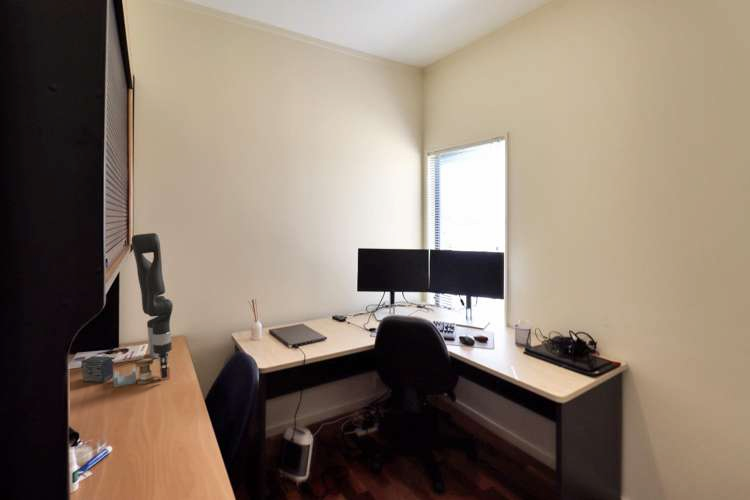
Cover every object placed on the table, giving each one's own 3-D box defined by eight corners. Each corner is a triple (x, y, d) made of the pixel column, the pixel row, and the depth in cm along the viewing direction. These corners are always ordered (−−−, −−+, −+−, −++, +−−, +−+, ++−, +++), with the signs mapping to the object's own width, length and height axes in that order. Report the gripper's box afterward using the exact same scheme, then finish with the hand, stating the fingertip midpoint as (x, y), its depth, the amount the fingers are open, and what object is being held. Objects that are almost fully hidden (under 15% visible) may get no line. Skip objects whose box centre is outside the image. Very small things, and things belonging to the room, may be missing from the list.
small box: (114, 376, 173) (112, 356, 172) (103, 383, 167) (101, 362, 165) (94, 375, 174) (92, 355, 173) (82, 382, 168) (80, 361, 166)
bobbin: (137, 379, 171) (135, 360, 169) (154, 375, 174) (153, 357, 173) (136, 385, 165) (135, 366, 163) (154, 381, 168) (153, 362, 167)
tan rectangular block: (160, 378, 172) (159, 366, 171) (170, 376, 174) (169, 364, 173) (160, 380, 170) (159, 368, 169) (170, 378, 172) (169, 366, 171)
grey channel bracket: (115, 380, 170) (114, 371, 169) (136, 375, 174) (136, 367, 174) (114, 387, 163) (113, 378, 163) (136, 382, 167) (135, 373, 167)
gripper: (152, 338, 173) (155, 370, 175) (152, 348, 161) (155, 382, 163) (170, 335, 177) (172, 366, 179) (171, 344, 165) (174, 378, 167)
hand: (164, 374), depth 171 cm, fingers open, 8 cm apart
